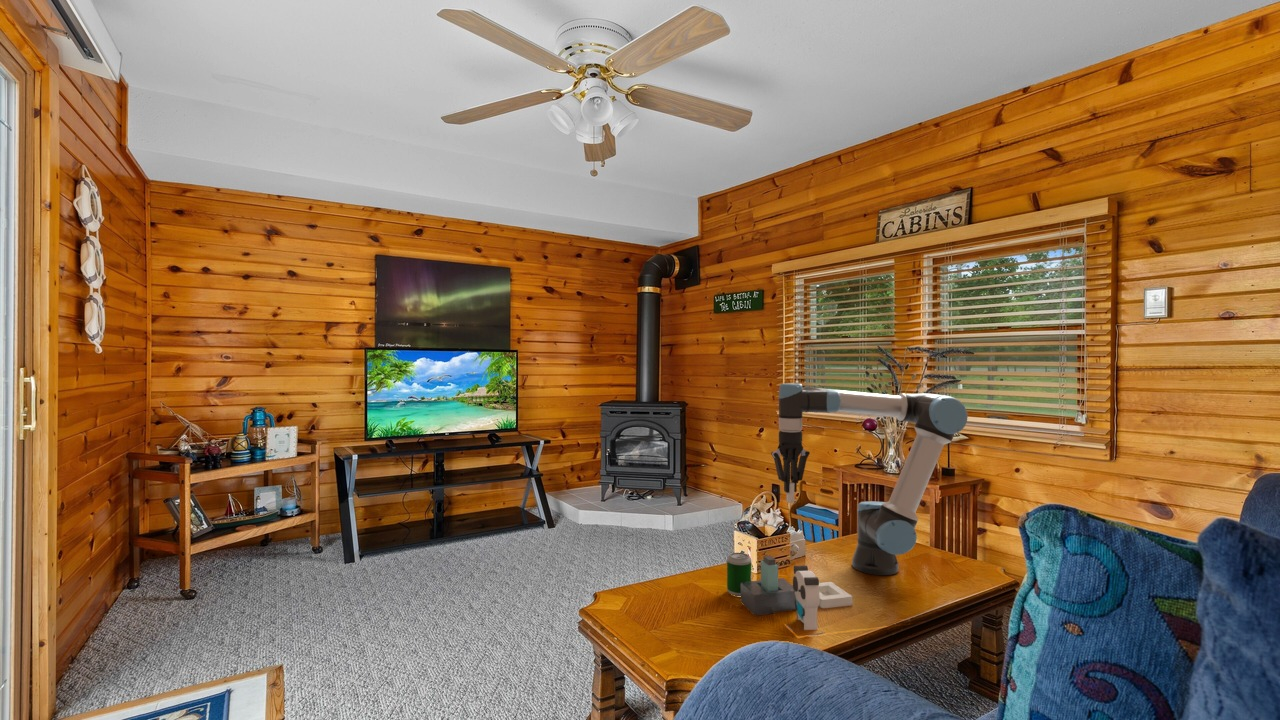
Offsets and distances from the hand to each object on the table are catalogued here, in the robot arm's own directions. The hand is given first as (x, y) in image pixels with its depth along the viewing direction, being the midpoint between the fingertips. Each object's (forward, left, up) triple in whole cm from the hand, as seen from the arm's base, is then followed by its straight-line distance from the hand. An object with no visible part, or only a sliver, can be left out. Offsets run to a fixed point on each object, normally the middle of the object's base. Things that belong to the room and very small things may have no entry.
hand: (790, 502), depth 200 cm
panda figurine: (+10, +30, -27) cm, 41 cm away
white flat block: (-4, +16, -26) cm, 31 cm away
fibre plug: (+15, +16, -24) cm, 33 cm away
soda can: (+20, +5, -27) cm, 34 cm away
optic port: (+15, +16, -26) cm, 34 cm away
